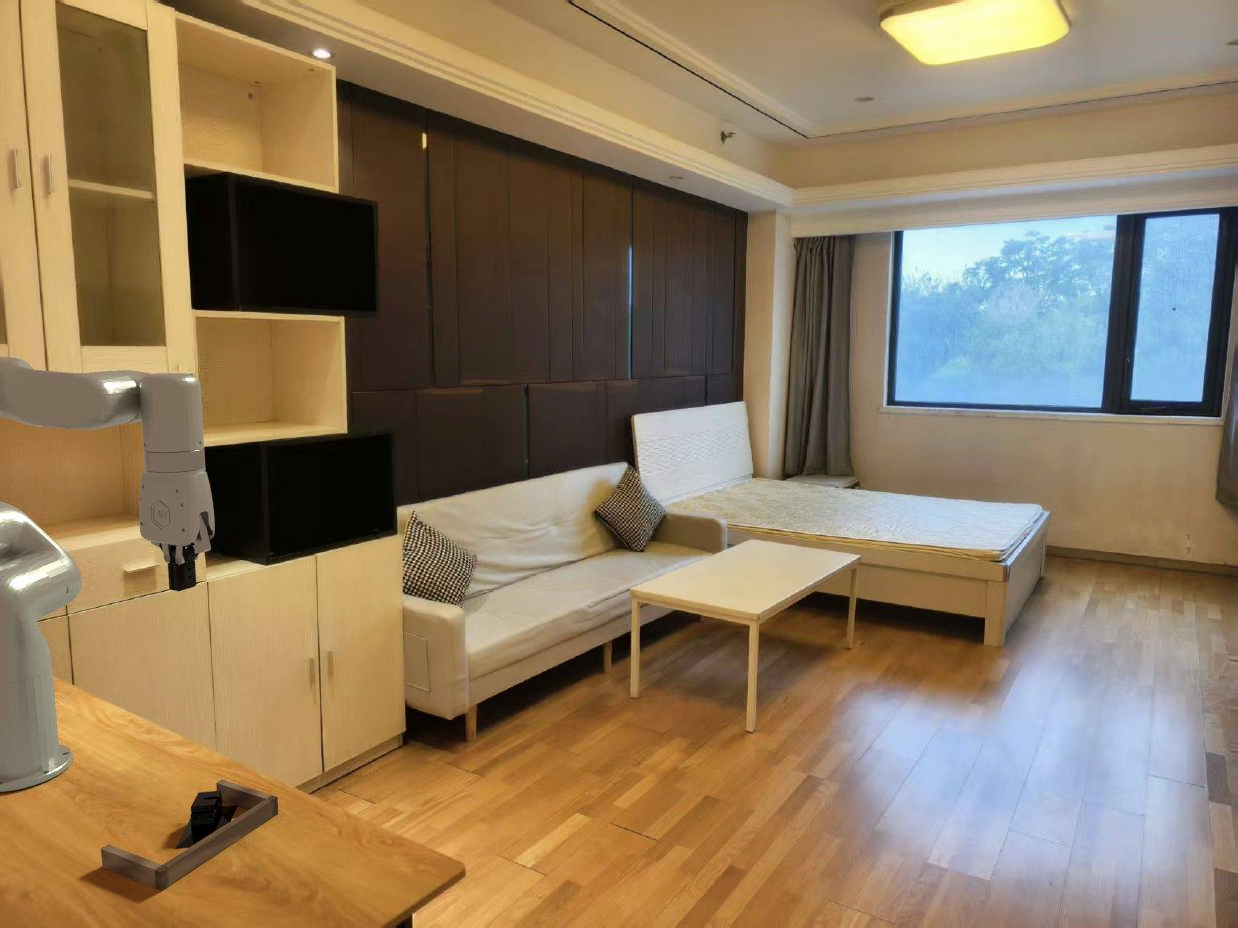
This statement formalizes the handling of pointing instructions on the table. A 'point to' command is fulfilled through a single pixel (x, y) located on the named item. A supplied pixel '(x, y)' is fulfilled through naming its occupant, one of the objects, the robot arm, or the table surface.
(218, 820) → the build plate
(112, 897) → the table surface
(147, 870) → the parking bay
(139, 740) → the table surface
